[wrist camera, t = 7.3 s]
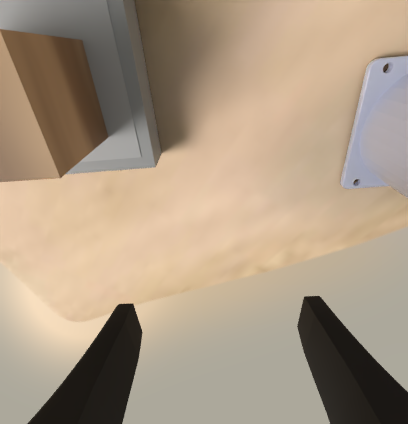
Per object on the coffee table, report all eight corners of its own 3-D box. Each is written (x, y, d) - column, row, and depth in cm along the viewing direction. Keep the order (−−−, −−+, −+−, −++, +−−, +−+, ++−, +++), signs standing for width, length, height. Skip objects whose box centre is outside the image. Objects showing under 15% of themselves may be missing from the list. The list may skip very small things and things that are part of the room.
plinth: (130, -24, 12) (114, -41, 10) (161, 153, 17) (155, 167, 15) (-44, -4, 13) (-95, -17, 11) (34, 163, 17) (10, 178, 15)
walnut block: (82, 39, 12) (-1, 29, 7) (108, 137, 14) (60, 178, 9) (-12, 47, 12) (-154, 42, 7) (30, 142, 14) (-56, 185, 9)
